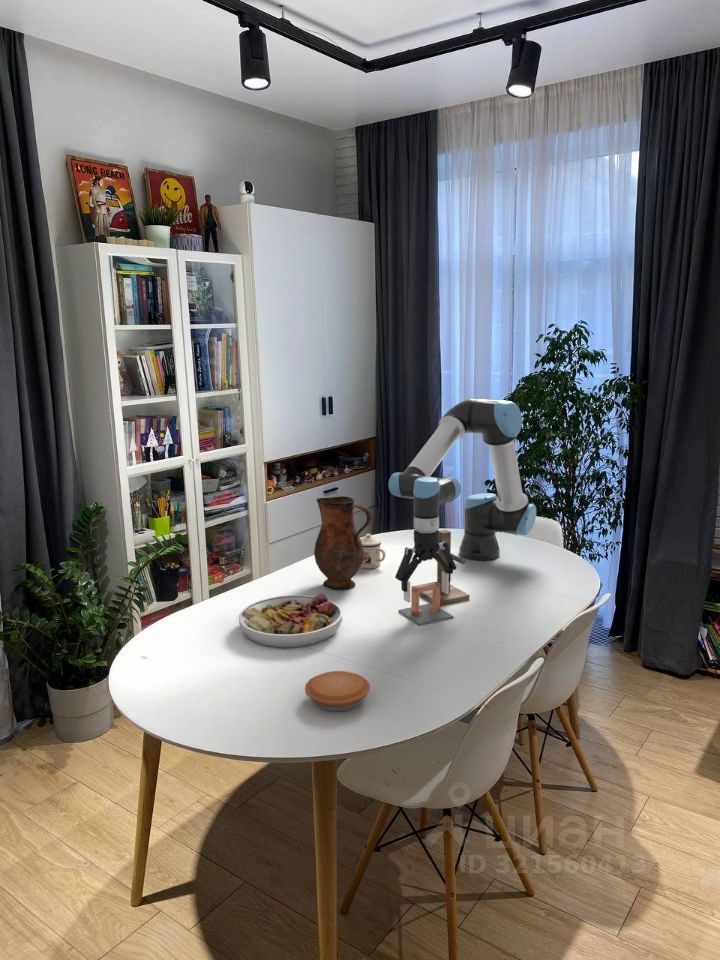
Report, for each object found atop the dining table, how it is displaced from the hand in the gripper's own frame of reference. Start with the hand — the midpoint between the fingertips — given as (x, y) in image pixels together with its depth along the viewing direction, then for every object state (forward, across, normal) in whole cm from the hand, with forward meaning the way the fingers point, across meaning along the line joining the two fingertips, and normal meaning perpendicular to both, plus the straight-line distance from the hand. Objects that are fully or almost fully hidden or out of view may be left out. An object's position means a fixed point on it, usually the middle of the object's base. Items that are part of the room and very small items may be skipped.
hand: (426, 596), depth 230 cm
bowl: (+6, -40, +10) cm, 42 cm away
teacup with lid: (+6, +7, +48) cm, 49 cm away
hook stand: (+6, +13, +8) cm, 16 cm away
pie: (+5, -46, -34) cm, 58 cm away
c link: (+5, 0, 0) cm, 5 cm away
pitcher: (+6, -11, +34) cm, 36 cm away
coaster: (+6, 0, 0) cm, 6 cm away
